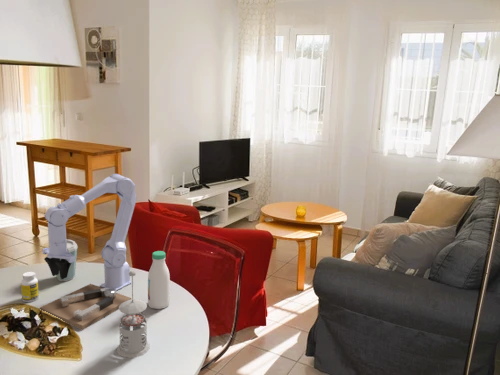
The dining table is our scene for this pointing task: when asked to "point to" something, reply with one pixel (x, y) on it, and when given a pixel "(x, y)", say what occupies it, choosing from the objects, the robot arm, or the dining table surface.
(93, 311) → the tongs fixed arm
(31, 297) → the supplement bottle
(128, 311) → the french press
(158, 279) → the milk bottle
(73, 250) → the disposable coffee cup
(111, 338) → the dining table surface
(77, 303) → the cutting board
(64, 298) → the tongs arm
